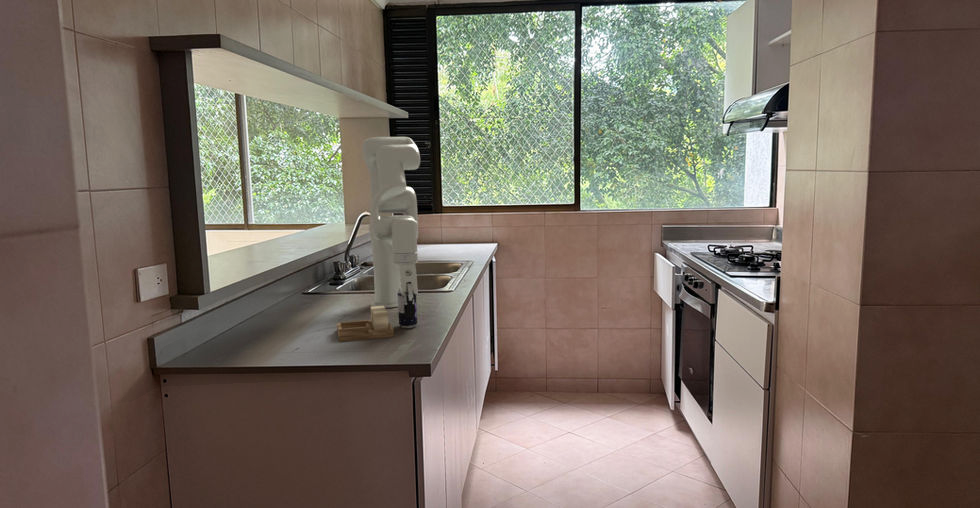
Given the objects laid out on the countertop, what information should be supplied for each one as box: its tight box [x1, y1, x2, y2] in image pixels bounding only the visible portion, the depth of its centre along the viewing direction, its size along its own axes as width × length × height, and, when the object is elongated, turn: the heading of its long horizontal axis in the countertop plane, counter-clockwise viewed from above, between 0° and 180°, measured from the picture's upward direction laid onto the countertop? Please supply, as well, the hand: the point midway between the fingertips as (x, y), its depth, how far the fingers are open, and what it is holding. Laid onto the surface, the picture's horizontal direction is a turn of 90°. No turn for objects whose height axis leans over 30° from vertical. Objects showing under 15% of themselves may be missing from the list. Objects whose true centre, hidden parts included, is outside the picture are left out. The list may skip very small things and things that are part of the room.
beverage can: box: [397, 287, 418, 329], centre depth 201 cm, size 6×6×12 cm
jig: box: [336, 319, 395, 343], centre depth 194 cm, size 14×16×3 cm
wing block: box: [370, 306, 389, 330], centre depth 195 cm, size 10×4×6 cm, turn 16°
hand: (407, 314), depth 201 cm, fingers open, 7 cm apart
